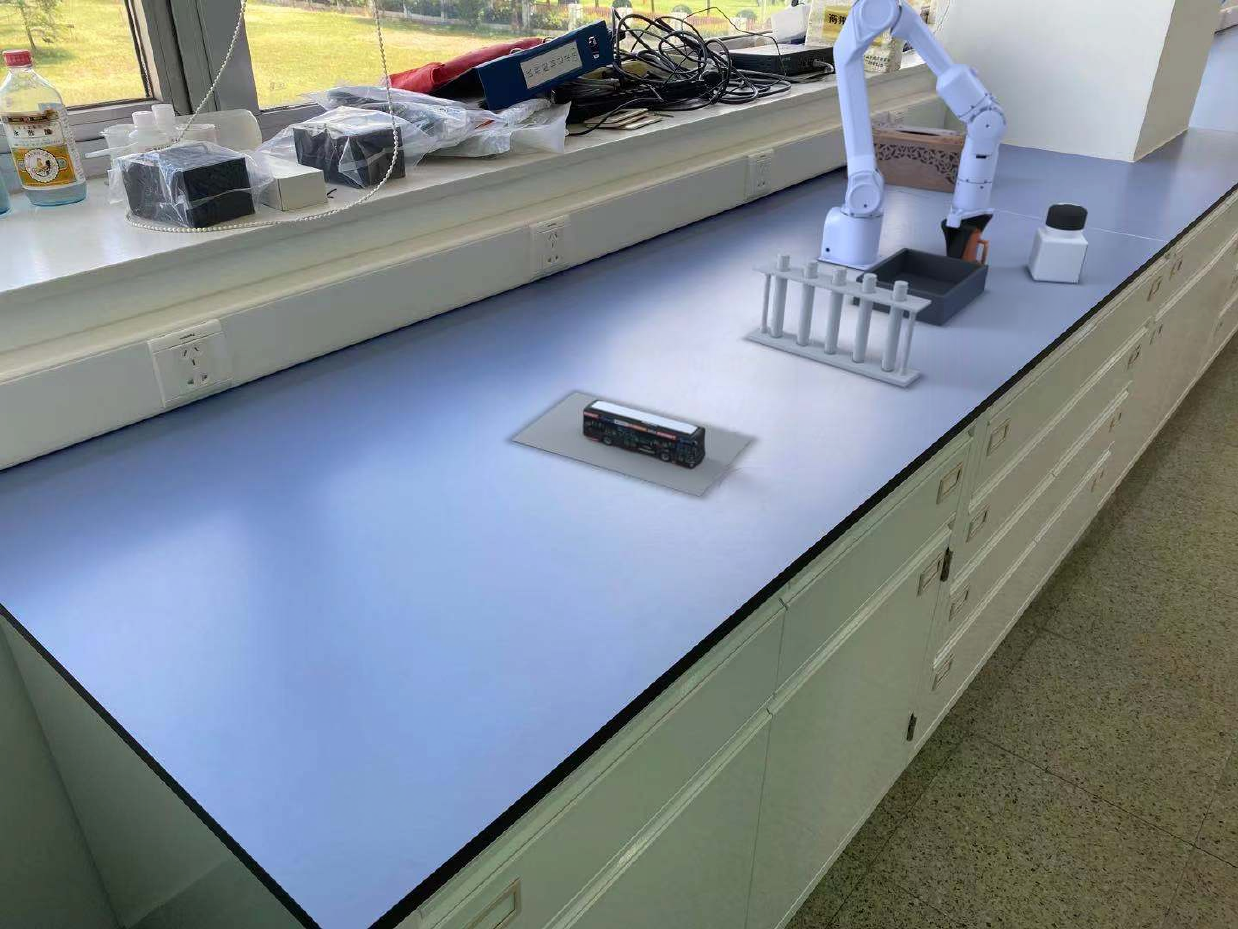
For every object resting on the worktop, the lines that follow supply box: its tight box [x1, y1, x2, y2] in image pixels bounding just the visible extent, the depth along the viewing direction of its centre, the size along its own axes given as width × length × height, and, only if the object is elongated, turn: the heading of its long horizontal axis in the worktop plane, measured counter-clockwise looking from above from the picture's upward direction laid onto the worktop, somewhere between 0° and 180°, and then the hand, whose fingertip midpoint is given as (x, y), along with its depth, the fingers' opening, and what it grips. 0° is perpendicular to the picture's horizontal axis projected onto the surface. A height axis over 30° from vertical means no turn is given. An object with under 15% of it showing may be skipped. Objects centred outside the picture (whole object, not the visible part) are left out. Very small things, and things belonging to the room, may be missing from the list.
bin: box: [852, 247, 990, 327], centre depth 155 cm, size 15×19×4 cm
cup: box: [944, 228, 990, 264], centre depth 165 cm, size 7×5×7 cm
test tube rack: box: [746, 251, 931, 388], centre depth 133 cm, size 25×4×13 cm, turn 50°
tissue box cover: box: [845, 120, 968, 194], centre depth 217 cm, size 26×14×10 cm, turn 58°
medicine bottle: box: [1027, 202, 1089, 284], centre depth 162 cm, size 7×7×12 cm
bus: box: [511, 392, 751, 497], centre depth 115 cm, size 14×25×4 cm, turn 60°
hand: (959, 258), depth 166 cm, fingers open, 5 cm apart
